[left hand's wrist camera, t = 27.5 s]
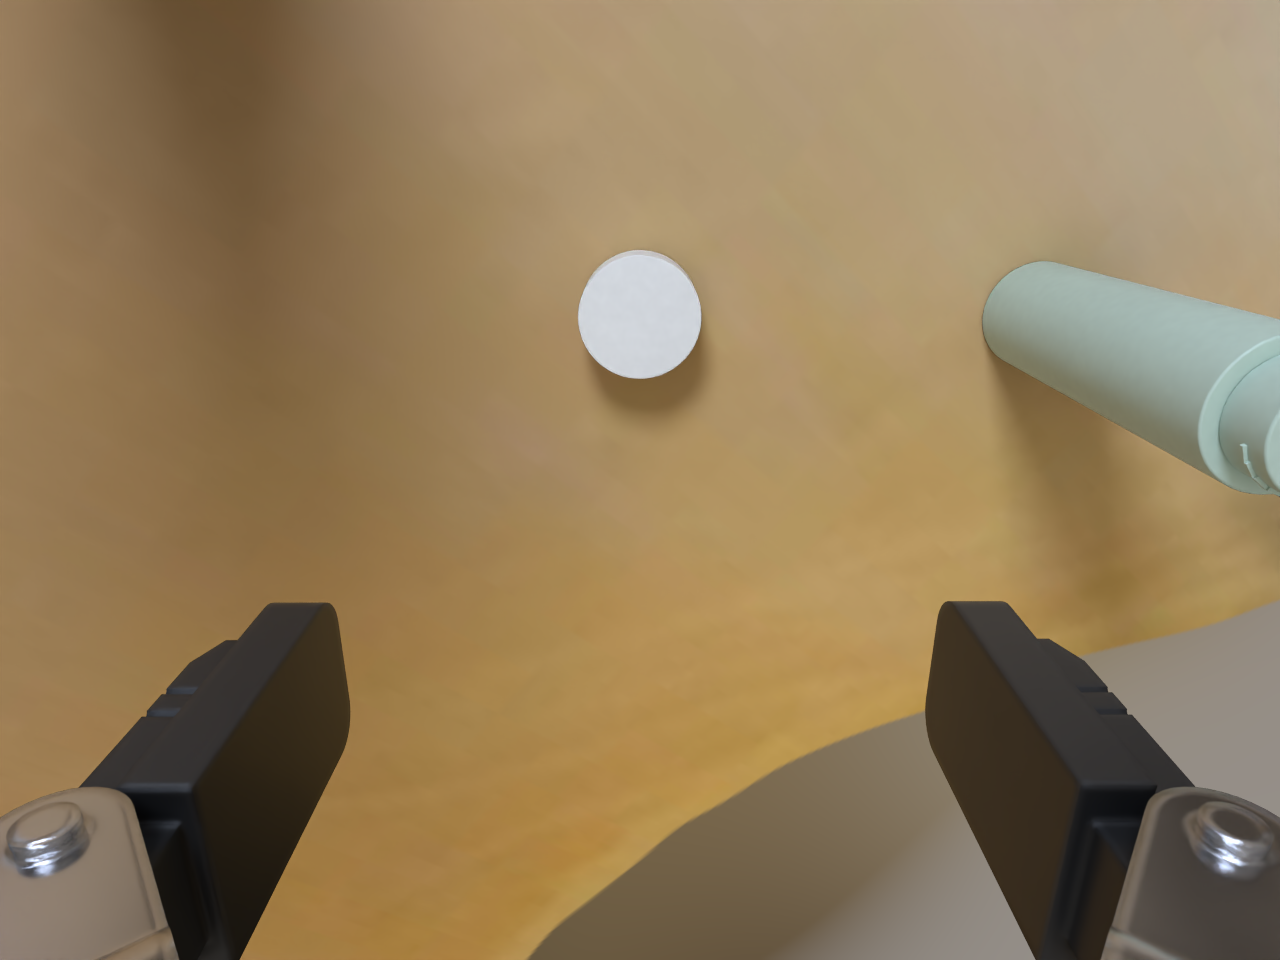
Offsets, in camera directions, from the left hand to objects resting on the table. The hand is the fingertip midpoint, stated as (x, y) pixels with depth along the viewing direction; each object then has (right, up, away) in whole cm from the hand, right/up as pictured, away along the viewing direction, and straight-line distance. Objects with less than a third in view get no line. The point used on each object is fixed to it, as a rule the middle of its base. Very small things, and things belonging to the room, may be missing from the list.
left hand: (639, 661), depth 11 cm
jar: (+18, +10, +27) cm, 34 cm away
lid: (0, +9, +25) cm, 27 cm away
